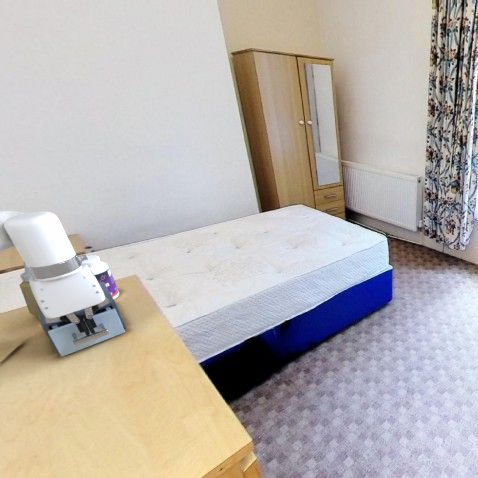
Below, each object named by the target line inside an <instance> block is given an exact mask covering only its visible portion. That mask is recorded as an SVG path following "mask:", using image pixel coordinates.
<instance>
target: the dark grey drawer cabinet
mask: <svg viewBox="0 0 478 478" xmlns="http://www.w3.org/2000/svg"><path fill="white" fill-rule="evenodd" d="M99 285H100V286H101V288H102V291H103V293H104V296H105V297H106V298H107V299H108V300H109V303H108V304H106V305H104V306H102V307H100V308H99V309H102V308H105V307H110V309H111V310H112V309H115V310H116V312H117V314H118V316H119V319H120V321H121V323H122V325H123V328H124V330H125V331H126V330H127V327H126V324H125V321H124V319H123V317H122V315H121V312H120V309H119V308H118V304H117V303H116V301H115V299H113V297H112V296H111V294H110V292H109V290H108V289H107V287H106V285H105V284H104V282H100V283H99ZM36 303H37V301H36ZM37 307H38V312H39V316H40V319H39V320H40V325H41V327H42V329H43V331H44V333H45V334H46V336H47V338H48V340H49V341H50V343H51V345H52V347H53V349H54V351H55V353H56V354H57V356H59V355H60V353H59V351H58V350H57V348H56V346H55V344H54V342H53V341H52V339H51V337H50V335H49V333H48V331H49V330H52V329H53V328H52V325H54V324H57V323H60V322H63V321H59V322H54V323H46V320H45V316H44V315H43V313H42V311H41V310H40V308H39V306H38V303H37ZM99 309H98V310H99ZM75 313H76V314H77V315H78V316H81V315H84V314H85V312H84V309H82V310H80V311H77V312H75Z"/></svg>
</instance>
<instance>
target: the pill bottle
mask: <svg viewBox="0 0 478 478" xmlns="http://www.w3.org/2000/svg"><path fill="white" fill-rule="evenodd" d="M86 256H87V258H88V260H85V261H83V262H82V263H84V264H86V265H87V266H88V267H89V269H90V270H91V271H92V273H93V274H94V276H95V278H96V279H97V281H98V283H100V282H104V284H105V285H106V287H107V289H108V290H109V292H110V294H111V296H112V297H113V299H114V300H116V299H117V298H118V297H119V295H120V291H119V289H118V285H117V283H116V281H115V279H114V276H113V274H112V271H111V269H110V266H109V265H108V263H106V262H104V261H101V258H100V257H99V255H95V254H93V255H86Z"/></svg>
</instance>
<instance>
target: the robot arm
mask: <svg viewBox="0 0 478 478" xmlns="http://www.w3.org/2000/svg"><path fill="white" fill-rule="evenodd" d="M13 247H15V249H16V251H17V252H18V255H19V256H20V258H21V259H22V261H24V262H23V264H24V263H25V265H26V266H27V268H28V270H29V272H30V273H31V275H32V276H31V277H30V278H29V283H30V287H31V290H32V292H33V295H34V297H35V299H36V301H37V303H38V306H39V308H40V310H41V311H42V313H43V315H44V316H45V320H46V323H54V322H59V321H65V322H71V323H73V324H76V326H77V328H78V330H79V331H80V333H82V332H85V334H86V336H88V335H89V334H90V332H91V334H92V333H95V330H94V328H96V327H97V325H96V323H95V321H94V319H93V317H94V316H93V315H94V314H95V313H96V311H97V310H98V309H99V308H100V307H102V306H104V305H106V304H108V303H109V300H108V299H107V298H106V297H105V296H104V293H103V291H102V288H101V286H100V285H99V283H98V281H97V279H96V278H95V276H94V274H93V273H92V271H91V270H90V269H89V267H88V266H87V265H86V264H84V263H82V262H83V261H85V260H88V258H87V256H88V255H87V254H77V253H76V251H75V249H74V247H73V244H72V243H71V240H70V239H69V237H68V235H67V233H66V231H65V229H64V227H63V224H62V223H61V220H60V219H59V216H57V214H55V213H53V212H51V211H32V212H21V211H15V210H0V252H2V251H5V250H7V249H10V248H13ZM82 309H84V312H85V314H84V317H83V318H84V319H83V318H81V317H80V316H78V315H77V314H76V313H75V312H77V311H80V310H82ZM84 320H85V321H84ZM87 326H88V327H87ZM88 328H89V329H88ZM89 330H90V332H89Z"/></svg>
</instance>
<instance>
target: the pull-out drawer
mask: <svg viewBox="0 0 478 478" xmlns="http://www.w3.org/2000/svg"><path fill="white" fill-rule="evenodd" d="M93 316H94V317H93V319H94V321H95V323H96V325H97V327H96V328H94V330H95V333H92V334H91V332H90V330H89V332H90V334H89V335H88V336H86V334H85V332H82V333H80V331H79V330H78V328H77V326H76V324H73V323H71V322H65V321H63V322H60V323H57V324H54V325H52V328H53V329H52V330H49V331H48V333H49V335H50V337H51V339H52V341H53V342H54V344H55V346H56V348H57V350H58V351H59V353H60V354H59V355H60V356H61V357H64V356H68V355H70V354H72V353H75V352H78V351H80V350H83V349H86V348H88V347H91V346H94V345H95V344H96V345H97V344H99V343H101V342H104V341H106V340H108V339H112V338H115V337H116V336H119V335H122V334H124V333H126V329H125V330H124V328H123V325H122V323H121V321H120V319H119V316H118V314H117V312H116V310H115V309H112V310H111V309H110V307H105V308H102V309H99V310H97V311H96V313H95V314H94V315H93ZM80 317H81V318H83V317H84V315H81V316H80ZM83 319H84V318H83ZM84 321H85V320H84ZM87 327H88V326H87ZM88 329H89V328H88Z"/></svg>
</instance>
